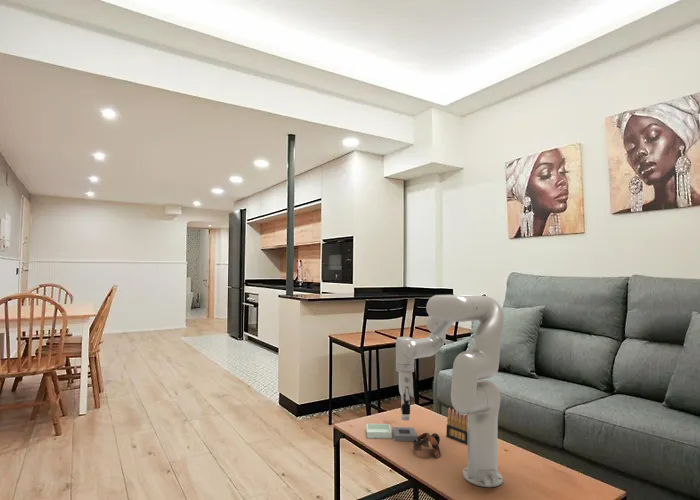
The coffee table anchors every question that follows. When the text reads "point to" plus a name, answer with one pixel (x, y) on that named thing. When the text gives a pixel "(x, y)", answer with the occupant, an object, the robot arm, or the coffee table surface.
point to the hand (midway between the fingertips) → (405, 412)
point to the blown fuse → (404, 416)
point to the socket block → (404, 433)
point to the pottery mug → (427, 437)
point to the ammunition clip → (457, 427)
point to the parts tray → (378, 431)
